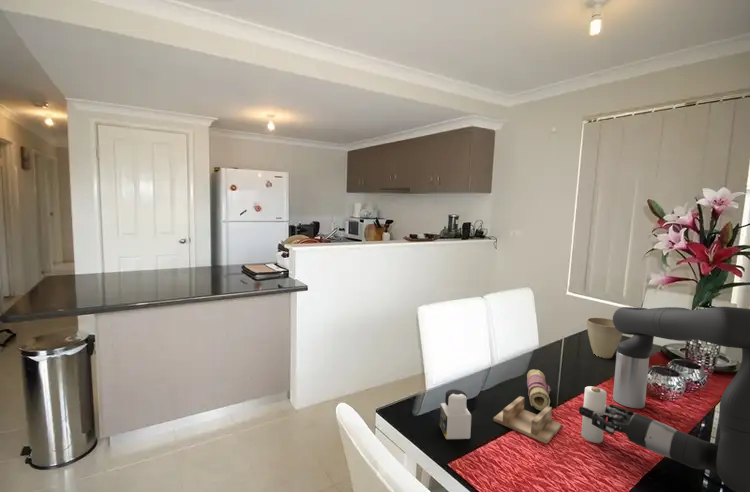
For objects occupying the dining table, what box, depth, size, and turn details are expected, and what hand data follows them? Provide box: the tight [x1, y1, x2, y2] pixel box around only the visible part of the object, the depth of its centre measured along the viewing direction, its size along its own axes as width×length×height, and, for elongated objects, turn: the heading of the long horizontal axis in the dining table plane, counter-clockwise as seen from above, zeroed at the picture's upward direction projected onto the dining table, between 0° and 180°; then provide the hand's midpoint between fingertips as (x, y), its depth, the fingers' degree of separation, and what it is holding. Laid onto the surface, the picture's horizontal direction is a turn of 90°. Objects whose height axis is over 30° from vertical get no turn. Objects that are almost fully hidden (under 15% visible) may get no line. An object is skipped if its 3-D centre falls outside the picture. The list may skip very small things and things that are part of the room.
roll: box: [580, 385, 608, 444], centre depth 108 cm, size 5×5×15 cm
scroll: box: [526, 369, 552, 411], centre depth 131 cm, size 8×8×20 cm
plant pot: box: [586, 317, 624, 359], centre depth 174 cm, size 15×15×16 cm
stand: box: [492, 395, 562, 444], centre depth 115 cm, size 12×16×5 cm
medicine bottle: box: [439, 388, 472, 440], centre depth 109 cm, size 7×7×12 cm
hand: (584, 406), depth 110 cm, fingers closed on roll, 5 cm apart
